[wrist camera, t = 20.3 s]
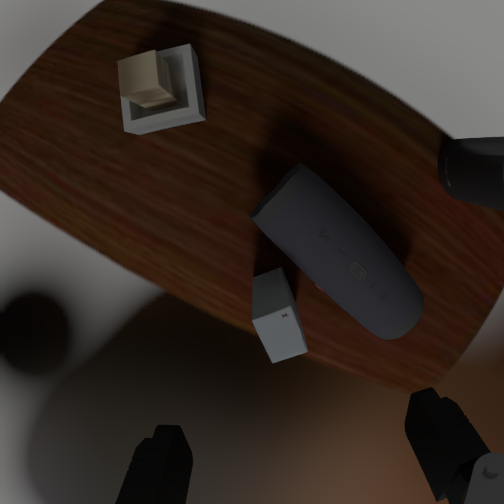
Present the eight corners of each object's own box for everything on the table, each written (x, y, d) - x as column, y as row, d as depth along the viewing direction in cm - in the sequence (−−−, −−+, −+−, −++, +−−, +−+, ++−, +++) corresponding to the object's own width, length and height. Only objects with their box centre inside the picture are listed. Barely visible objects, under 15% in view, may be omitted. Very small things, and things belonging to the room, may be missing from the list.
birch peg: (178, 75, 34) (154, 49, 24) (182, 104, 35) (158, 84, 25) (148, 83, 34) (117, 61, 24) (152, 111, 35) (120, 95, 25)
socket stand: (197, 57, 34) (190, 43, 29) (206, 120, 36) (199, 113, 32) (132, 73, 35) (118, 63, 30) (139, 134, 37) (124, 131, 32)
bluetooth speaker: (247, 213, 40) (244, 229, 30) (297, 160, 38) (311, 157, 28) (362, 320, 43) (385, 357, 34) (406, 275, 42) (440, 303, 32)
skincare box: (251, 277, 42) (250, 318, 30) (281, 265, 41) (291, 303, 30) (267, 315, 43) (271, 365, 32) (296, 304, 43) (310, 352, 31)
